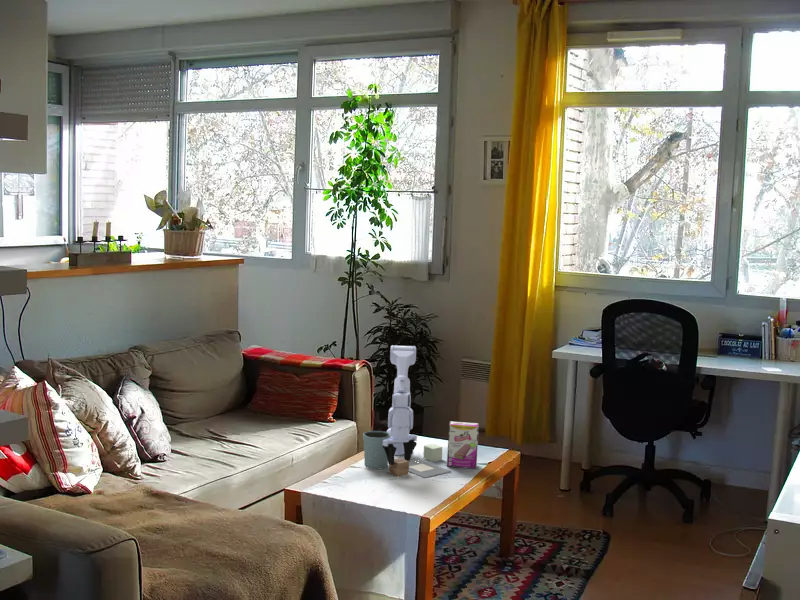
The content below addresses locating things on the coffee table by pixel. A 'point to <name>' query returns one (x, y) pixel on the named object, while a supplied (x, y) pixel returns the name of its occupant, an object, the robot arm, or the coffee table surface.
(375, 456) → the green plant pot
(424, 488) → the coffee table surface
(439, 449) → the sage block
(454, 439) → the candy bar box
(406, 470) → the walnut block
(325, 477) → the coffee table surface
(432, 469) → the board
